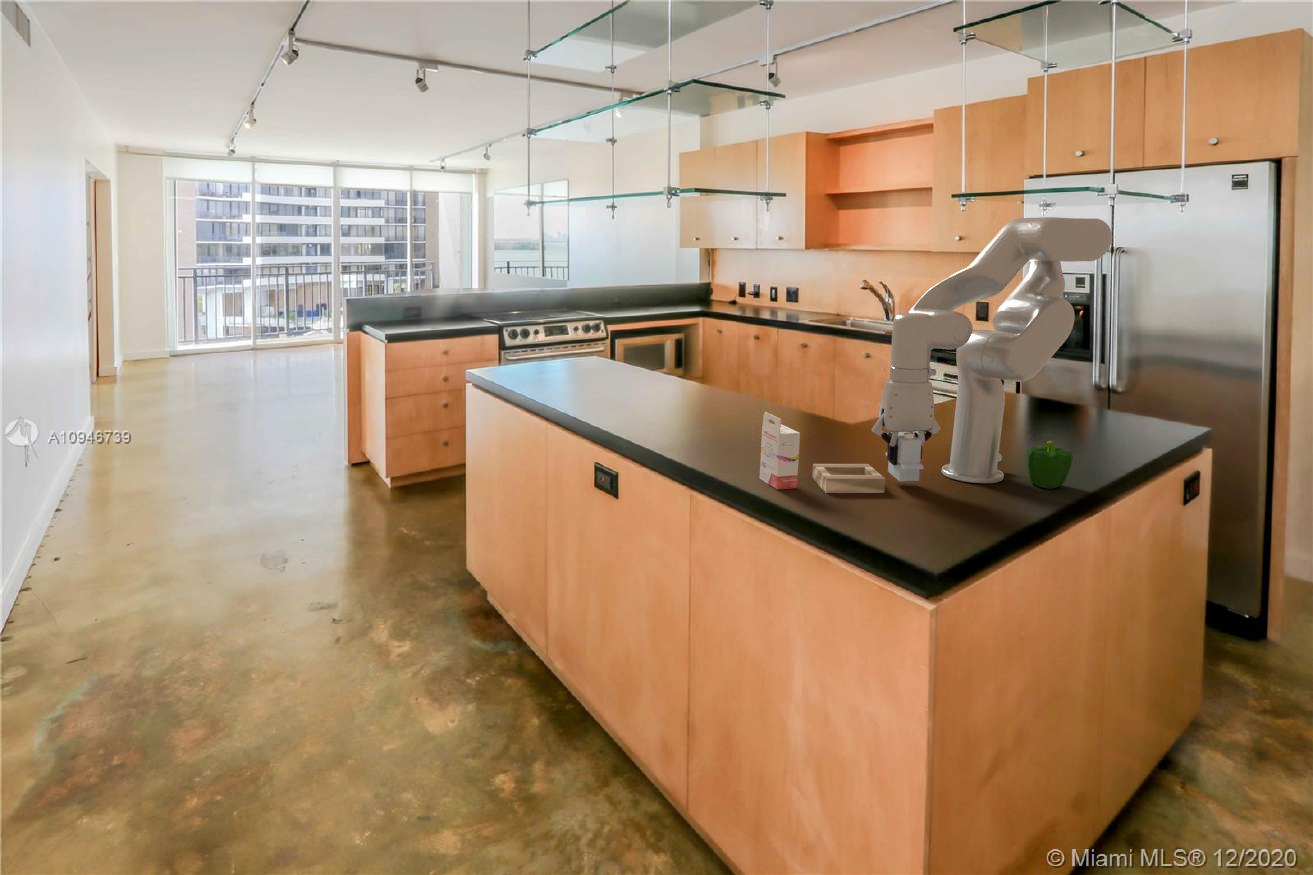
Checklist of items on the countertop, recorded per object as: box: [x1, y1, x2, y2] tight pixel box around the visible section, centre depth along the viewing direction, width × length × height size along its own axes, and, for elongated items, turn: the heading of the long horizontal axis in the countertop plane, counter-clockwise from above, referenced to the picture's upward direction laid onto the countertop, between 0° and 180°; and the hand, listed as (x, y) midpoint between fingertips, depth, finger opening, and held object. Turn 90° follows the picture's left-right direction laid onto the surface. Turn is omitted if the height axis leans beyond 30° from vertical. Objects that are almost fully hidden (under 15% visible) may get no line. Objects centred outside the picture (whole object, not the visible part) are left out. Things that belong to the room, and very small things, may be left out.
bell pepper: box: [1026, 440, 1074, 489], centre depth 164 cm, size 8×8×10 cm
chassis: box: [811, 463, 886, 494], centre depth 163 cm, size 11×12×3 cm
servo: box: [885, 432, 925, 482], centre depth 161 cm, size 4×11×10 cm, turn 3°
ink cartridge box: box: [759, 411, 801, 490], centre depth 162 cm, size 9×5×15 cm, turn 18°
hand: (903, 462), depth 162 cm, fingers closed on servo, 4 cm apart
